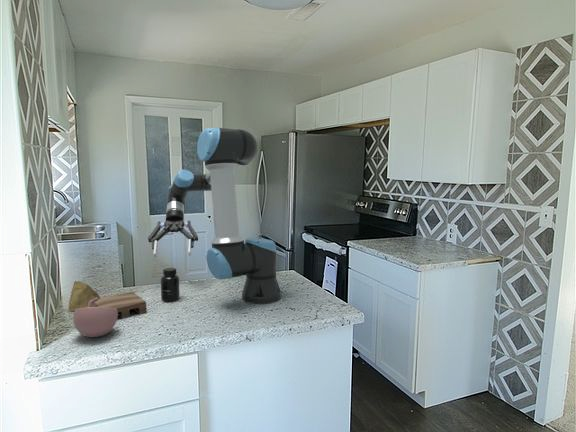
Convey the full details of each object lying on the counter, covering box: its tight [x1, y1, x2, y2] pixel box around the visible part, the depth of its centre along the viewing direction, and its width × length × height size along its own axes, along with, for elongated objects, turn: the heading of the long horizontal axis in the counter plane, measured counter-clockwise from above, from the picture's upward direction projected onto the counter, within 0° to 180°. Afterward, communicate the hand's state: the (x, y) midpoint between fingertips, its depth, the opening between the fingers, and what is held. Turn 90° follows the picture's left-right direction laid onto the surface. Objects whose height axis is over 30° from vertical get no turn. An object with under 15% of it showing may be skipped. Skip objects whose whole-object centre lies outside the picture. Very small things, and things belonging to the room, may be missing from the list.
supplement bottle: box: [160, 267, 181, 303], centre depth 146 cm, size 7×7×12 cm
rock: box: [67, 280, 101, 313], centre depth 139 cm, size 11×9×10 cm
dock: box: [93, 291, 148, 319], centre depth 134 cm, size 14×14×4 cm
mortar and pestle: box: [72, 297, 119, 338], centre depth 115 cm, size 12×12×12 cm
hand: (172, 254), depth 156 cm, fingers open, 13 cm apart
